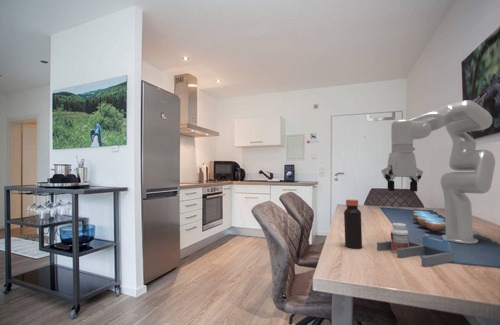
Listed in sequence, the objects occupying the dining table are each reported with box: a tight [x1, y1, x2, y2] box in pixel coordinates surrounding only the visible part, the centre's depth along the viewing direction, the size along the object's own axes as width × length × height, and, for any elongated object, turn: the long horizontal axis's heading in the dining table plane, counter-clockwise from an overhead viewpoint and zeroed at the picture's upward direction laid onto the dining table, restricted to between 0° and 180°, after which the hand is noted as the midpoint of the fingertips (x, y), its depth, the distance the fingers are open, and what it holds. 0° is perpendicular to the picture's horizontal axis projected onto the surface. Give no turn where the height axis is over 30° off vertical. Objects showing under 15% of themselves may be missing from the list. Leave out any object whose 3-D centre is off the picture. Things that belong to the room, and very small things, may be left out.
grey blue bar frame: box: [376, 233, 454, 268], centre depth 93 cm, size 14×20×8 cm
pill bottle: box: [390, 222, 410, 254], centre depth 97 cm, size 6×6×11 cm
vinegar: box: [343, 199, 363, 250], centre depth 105 cm, size 7×7×20 cm
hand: (402, 191), depth 100 cm, fingers open, 9 cm apart
